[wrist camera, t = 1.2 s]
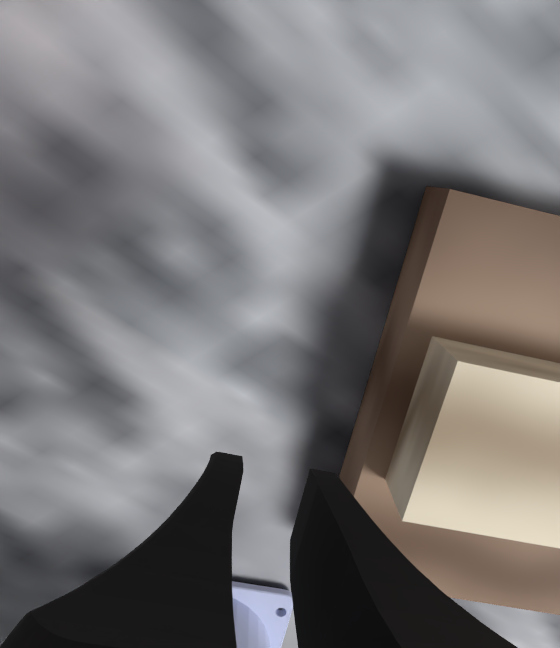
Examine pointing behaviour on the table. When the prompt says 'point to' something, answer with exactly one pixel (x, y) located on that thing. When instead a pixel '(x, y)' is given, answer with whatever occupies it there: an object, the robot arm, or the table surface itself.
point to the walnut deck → (472, 328)
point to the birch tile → (481, 445)
